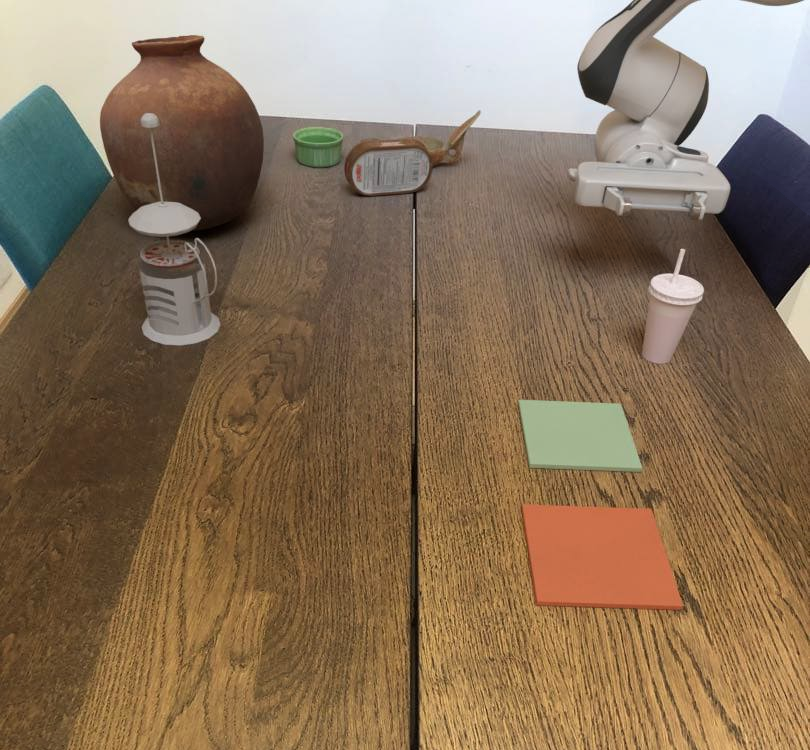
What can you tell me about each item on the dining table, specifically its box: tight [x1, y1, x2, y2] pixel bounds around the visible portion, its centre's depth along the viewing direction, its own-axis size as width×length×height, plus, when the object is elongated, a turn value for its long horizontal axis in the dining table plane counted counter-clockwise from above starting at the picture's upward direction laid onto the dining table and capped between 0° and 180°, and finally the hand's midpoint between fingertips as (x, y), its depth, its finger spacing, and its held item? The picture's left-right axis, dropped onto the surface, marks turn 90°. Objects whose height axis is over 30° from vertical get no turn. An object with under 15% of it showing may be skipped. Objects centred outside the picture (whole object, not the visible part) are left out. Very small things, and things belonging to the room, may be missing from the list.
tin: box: [343, 138, 434, 197], centre depth 136 cm, size 15×3×8 cm, turn 108°
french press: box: [128, 113, 221, 346], centre depth 95 cm, size 10×12×25 cm
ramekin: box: [292, 126, 344, 169], centre depth 148 cm, size 9×9×4 cm
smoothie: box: [641, 248, 705, 365], centre depth 99 cm, size 6×6×14 cm
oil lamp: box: [359, 109, 481, 167], centre depth 147 cm, size 9×21×10 cm, turn 80°
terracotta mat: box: [520, 503, 684, 611], centre depth 77 cm, size 13×13×1 cm
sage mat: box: [517, 399, 643, 473], centre depth 91 cm, size 12×12×1 cm
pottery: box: [99, 34, 265, 232], centre depth 119 cm, size 23×23×25 cm
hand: (661, 212), depth 104 cm, fingers open, 8 cm apart
